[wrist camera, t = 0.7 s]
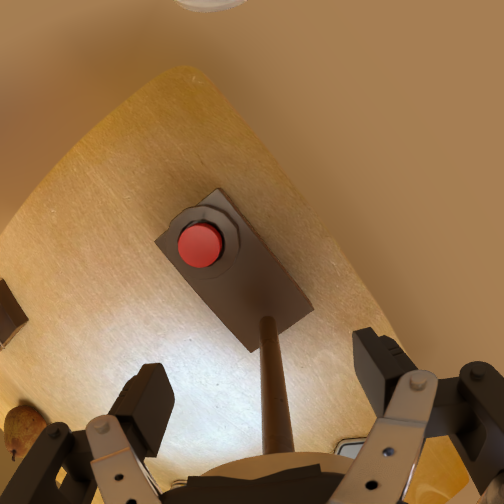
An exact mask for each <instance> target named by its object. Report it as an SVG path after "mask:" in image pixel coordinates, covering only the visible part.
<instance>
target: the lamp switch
mask: <svg viewBox="0 0 504 504" xmlns="http://www.w3.org/2000/svg"><path fill="white" fill-rule="evenodd" d="M221 249H222V238H221V235H220V233H219V232H218V230H217V229H216V228H214V227H213V226H212V225H209V224H207V223H197V224H194V225H192V226H190V227H189V228H187V229H186V230H185V231H184V232H183V233H182V234H181V236H180V238H179V241H178V251H179V254H180V256H181V258H182V259H183V260H184V261H185V262H186V263H187V264H188V265H190V266H193V267H197V268H203V267H207V266H209V265H211V264H212V263H213V262H214V261H215V260H216V259H217V257H218V256H219V254H220V251H221Z"/></svg>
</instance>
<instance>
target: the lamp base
mask: <svg viewBox="0 0 504 504" xmlns="http://www.w3.org/2000/svg"><path fill="white" fill-rule="evenodd" d="M197 223H207V224H209V225H212V226H213V227H214V228H216V229H217V230H218V232H219V233H220V235H221V238H222V249H221V251H220V254H219V256H218V257H217V259H216V260H215V261H214V262H213V263H212V264H211V265H209V266H207V267H203V268H197V267H193V266H190V265H188V264H187V263H186V262H185V261H184V260H183V259H182V258H181V256H180V254H179V251H178V241H179V238H180V236H181V234H182V233H183V232H184V231H185V230H186V229H187V228H189V227H190V226H192V225H194V224H197ZM154 242H155V243H156V245H157V246H158V247H159V248H160V250H161V251H162V252H163V253H164V254H165V256H166V257H167V258H168V259H169V261H170V262H171V263H172V264H173V265H174V267H175V268H176V269H177V270H178V271H179V273H180V274H181V275H182V276H183V277H184V279H185V280H186V281H187V282H188V283H189V285H190V286H191V287H192V288H193V289H194V290H195V292H196V293H197V294H198V295H199V296H200V297H201V298H202V300H203V301H204V302H205V303H206V304H207V305H208V307H209V308H210V309H211V310H212V311H213V312H214V313H215V314H216V316H217V317H218V318H219V319H220V320H221V321H222V322H223V323H224V325H225V326H226V327H227V328H228V329H229V330H230V331H231V332H232V333H233V334H234V336H235V337H236V338H237V339H238V340H239V341H240V342H241V343H242V344H243V345H244V346H245V347H246V348H247V350H248V351H249V352H250V353H252V352H253V351H255V350H256V349H258V348H260V338H259V321H260V320H261V318H263V317H265V316H271V317H273V318H274V319H275V320H276V324H277V331H278V335H279V334H280V333H282V332H283V331H285V330H286V329H288V328H289V327H290V326H292V325H293V324H295V323H296V322H298V321H299V320H300V319H302V318H303V317H305V316H306V315H307V314H309V313H310V312H312V311H313V310H314V309H313V306H312V304H311V302H310V301H309V299H308V298H307V297H306V295H305V294H304V293H303V292H302V290H301V289H300V288H299V286H298V285H297V284H296V283H295V281H294V280H293V279H292V277H291V276H290V275H289V274H288V272H287V271H286V270H285V269H284V267H283V266H282V265H281V263H280V262H279V261H278V260H277V258H276V257H275V256H274V254H273V253H272V252H271V251H270V249H269V248H268V247H267V246H266V244H265V243H264V242H263V241H262V239H261V238H260V237H259V235H258V234H257V233H256V232H255V230H254V229H253V228H252V227H251V225H250V224H249V223H248V222H247V220H246V219H245V218H244V217H243V215H242V214H241V213H240V212H239V210H238V209H237V208H236V207H235V205H234V204H233V203H232V202H231V200H230V199H229V198H228V197H227V195H226V194H225V193H224V192H223V190H222V189H221V188H217V189H216V190H214V191H213V192H212V193H211V194H209V195H208V196H207V197H206V198H204V199H203V200H202V201H201V202H200V203H198V204H197V205H196V206H194V207H189V208H186V209H185V210H183V211H182V212H181V213H180V214H179V215H178V216H176V217H175V218H174V219H173V220H172V221H171V223H170V226H169V228H168V230H167V231H165V232H164V233H163V234H162V235H161V236H160V237H159V238H158V239H156V240H155V241H154Z"/></svg>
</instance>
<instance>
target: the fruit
mask: <svg viewBox="0 0 504 504" xmlns="http://www.w3.org/2000/svg"><path fill="white" fill-rule="evenodd" d="M45 427H47V425H46V422H45V420H44V419H43V417H42V416H41V415H40V414H39V413H38V412H37V411H36V410H35V409H34V408H32V407H30V406H26V405H23V406H18V407H15V408H13V409H12V410H10V411H9V412H8V414H7V416H6V418H5V423H4V439H5V445H6V448H7V450H8V451H9V452H10V454H11V455H13V456H12V460H13V461H15V457H19V458H21V457H25V456H26V454H27V453H28V451H29V450H30V448H31V447H32V445H33V444H34V442H35V441H36V439H37V438H38V436H39V435H40V433H41V432H42V430H43V429H44V428H45Z"/></svg>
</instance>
